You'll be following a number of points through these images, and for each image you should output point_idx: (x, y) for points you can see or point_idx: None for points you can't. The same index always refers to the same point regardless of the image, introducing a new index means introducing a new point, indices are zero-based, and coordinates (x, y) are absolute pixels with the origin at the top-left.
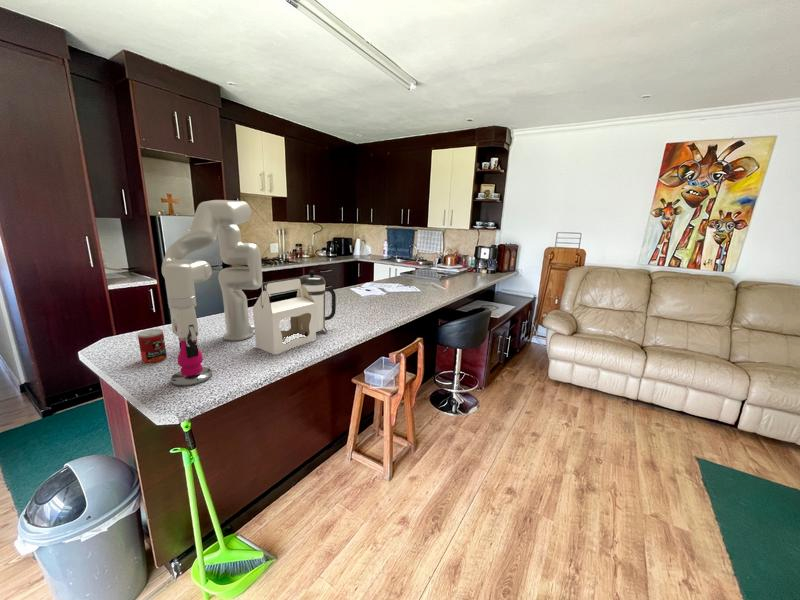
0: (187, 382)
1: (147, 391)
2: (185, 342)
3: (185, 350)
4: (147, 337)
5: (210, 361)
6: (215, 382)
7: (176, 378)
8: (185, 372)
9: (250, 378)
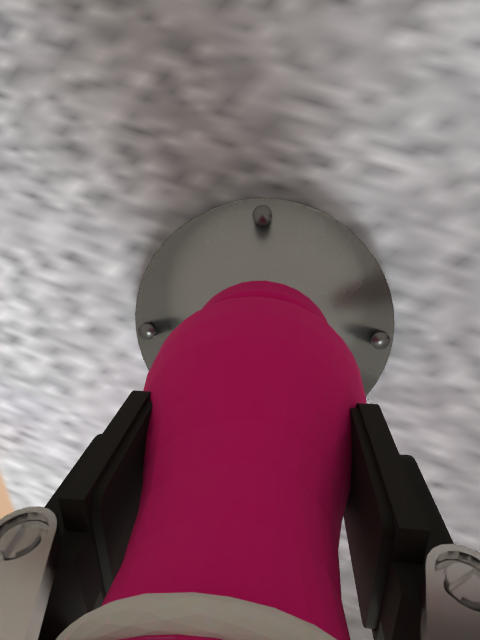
0: (156, 271)
1: (276, 16)
2: (121, 579)
3: (166, 448)
4: None
5: (430, 486)
6: (105, 385)
7: (281, 241)
8: (210, 302)
9: (43, 501)
